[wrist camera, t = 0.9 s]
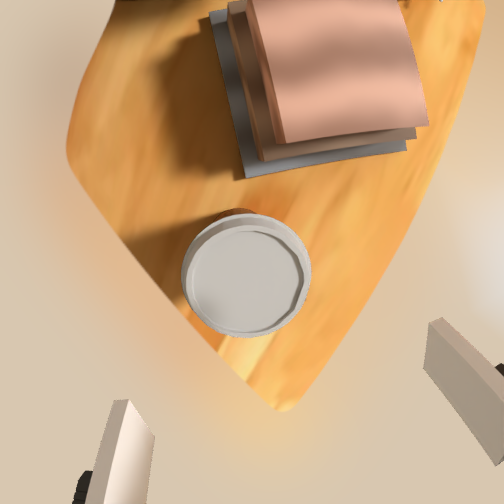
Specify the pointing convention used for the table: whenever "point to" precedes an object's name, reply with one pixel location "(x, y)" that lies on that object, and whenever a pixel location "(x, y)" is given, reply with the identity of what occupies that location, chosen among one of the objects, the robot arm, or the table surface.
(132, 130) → the table surface
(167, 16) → the table surface
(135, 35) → the table surface
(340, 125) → the pink brown stepped block
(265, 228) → the disposable coffee cup
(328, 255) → the table surface
